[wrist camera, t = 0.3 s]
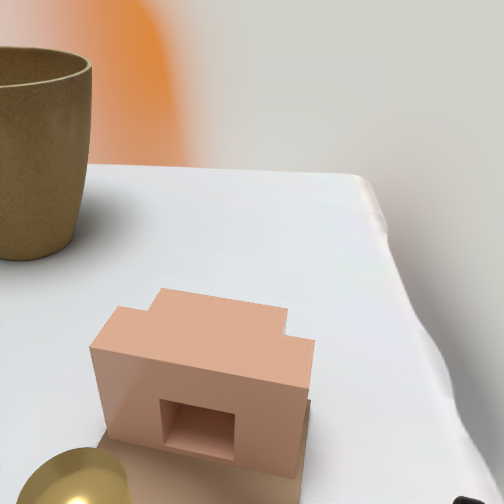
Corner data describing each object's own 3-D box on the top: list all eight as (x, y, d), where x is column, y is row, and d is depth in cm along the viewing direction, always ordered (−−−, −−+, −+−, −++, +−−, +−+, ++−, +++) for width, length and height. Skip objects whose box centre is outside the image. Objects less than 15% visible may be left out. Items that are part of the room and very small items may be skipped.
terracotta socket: (293, 479, 23) (309, 388, 19) (109, 438, 25) (89, 347, 21) (303, 401, 27) (318, 313, 23) (145, 370, 29) (134, 283, 25)
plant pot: (-75, 302, 35) (-174, 88, 26) (-39, 213, 46) (-99, 45, 38) (122, 272, 39) (95, 80, 30) (110, 197, 51) (87, 43, 42)
